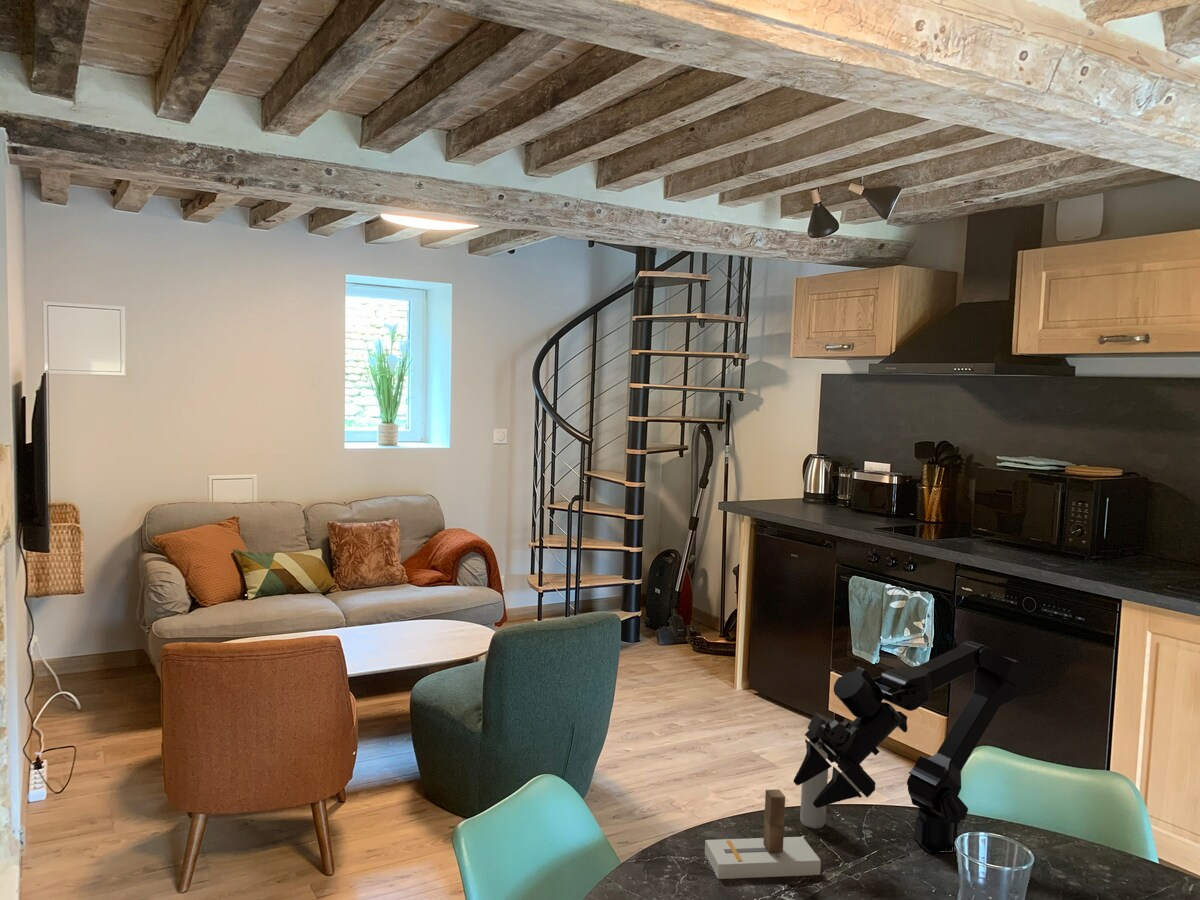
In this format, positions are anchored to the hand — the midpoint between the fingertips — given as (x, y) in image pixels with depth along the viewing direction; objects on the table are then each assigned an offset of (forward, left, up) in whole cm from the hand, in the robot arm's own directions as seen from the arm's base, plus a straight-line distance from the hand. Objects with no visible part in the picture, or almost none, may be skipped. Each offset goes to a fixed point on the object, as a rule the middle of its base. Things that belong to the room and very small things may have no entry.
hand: (804, 794), depth 157 cm
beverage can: (-8, -14, -12) cm, 20 cm away
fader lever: (+5, 0, -9) cm, 11 cm away
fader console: (+7, 0, -12) cm, 14 cm away
